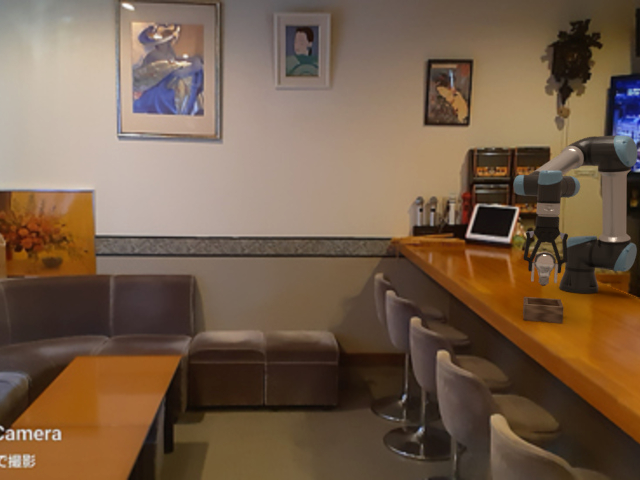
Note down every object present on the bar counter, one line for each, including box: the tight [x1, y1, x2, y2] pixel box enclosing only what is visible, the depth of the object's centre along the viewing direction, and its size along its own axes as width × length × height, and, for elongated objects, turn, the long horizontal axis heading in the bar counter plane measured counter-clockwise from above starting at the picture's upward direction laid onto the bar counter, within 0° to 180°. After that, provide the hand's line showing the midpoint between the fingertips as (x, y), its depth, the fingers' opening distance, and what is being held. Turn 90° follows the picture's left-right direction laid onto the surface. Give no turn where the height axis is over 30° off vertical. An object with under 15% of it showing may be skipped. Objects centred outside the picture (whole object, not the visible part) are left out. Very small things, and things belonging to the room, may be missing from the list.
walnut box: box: [522, 296, 564, 324], centre depth 207 cm, size 12×12×6 cm
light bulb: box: [533, 251, 557, 287], centre depth 205 cm, size 7×7×12 cm
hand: (543, 281), depth 205 cm, fingers closed on light bulb, 7 cm apart
